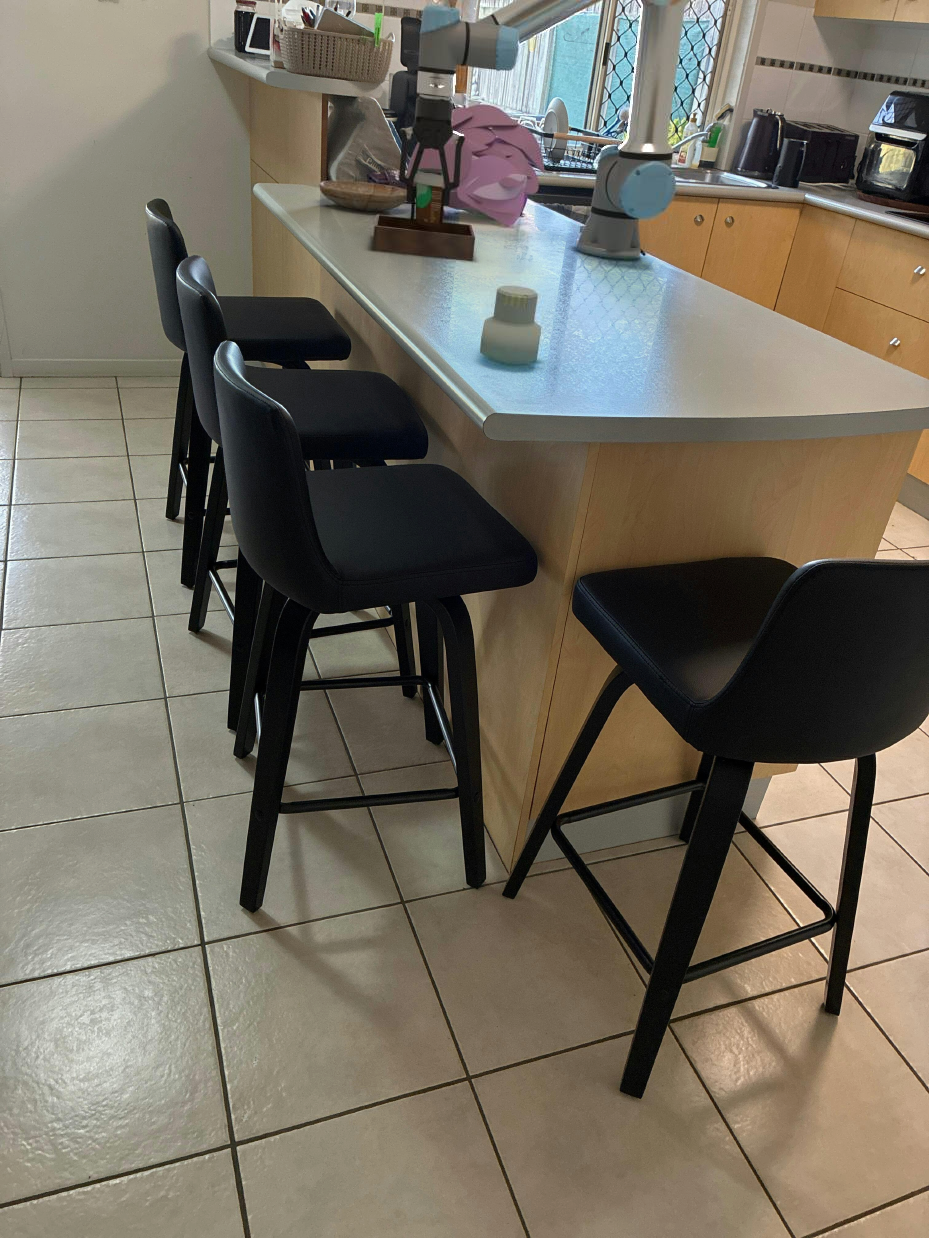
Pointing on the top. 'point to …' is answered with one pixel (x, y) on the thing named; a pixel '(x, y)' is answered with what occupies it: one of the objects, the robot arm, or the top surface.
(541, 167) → the flower arrangement
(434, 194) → the food container
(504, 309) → the air freshener
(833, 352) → the top surface
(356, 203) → the wooden bowl
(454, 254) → the wooden tray
